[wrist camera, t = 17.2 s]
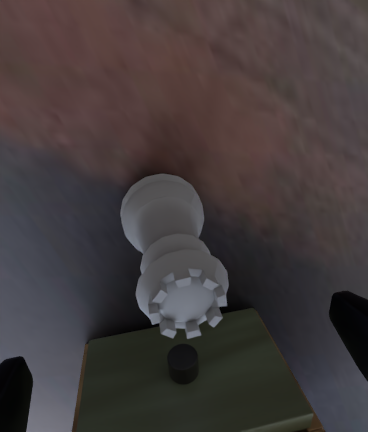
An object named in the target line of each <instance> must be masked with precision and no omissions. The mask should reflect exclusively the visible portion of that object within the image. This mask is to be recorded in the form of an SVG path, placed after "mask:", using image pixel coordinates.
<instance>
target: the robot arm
mask: <svg viewBox="0 0 368 432" xmlns="http://www.w3.org/2000/svg"><path fill="white" fill-rule="evenodd" d="M329 317H330V320H331V322H332V324H333V325H334V327H335V329H336V330H337V332H338V334H339V336H340V337H341V339H342V341H343V343H344V344H345V346H346V348H347V350H348V351H349V353H350V355H351V356H352V358H353V360H354V362H355V363H356V365H357V366H358V368H359V370H360V371H361V372H362V374H363V375H364V377H365V378H366V380H367V381H368V300H367V299H365V298H363V297H360V296H358V295H356V294H354V293H352V292H349V291H341V292H336V293H334V294H333V295H332V299H331V305H330V310H329ZM32 387H33V378H32V374H31V372H30V370H29V368H28V366H27V364H26V362H25V360H24V358H23V357H21V356H19V357H14V358H9V359H6V360H4V361H3V362H2V363H1V364H0V432H26V428H27V422H28V415H29V408H30V401H31V394H32Z"/></svg>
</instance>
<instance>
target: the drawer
mask: <svg viewBox="0 0 368 432" xmlns="http://www.w3.org/2000/svg"><path fill="white" fill-rule="evenodd" d="M222 317H223V318H222V319H221V320H220V321H219V323H218V324H217V325H216V326H215V327H212V326H211V325H209V324H208V321H207V320H206V321H204V322H202V323H201V324H199V329H200V332H201V335H200V336H197V337H193V338H189V339H187V336H186V332H185V329H184V328H176V334H175V336H174V338H170V337H168V336H165V335H162V334H161V332H160V326H159V327H154V328H149V329H144V330H139V331H134V332H129V333H124V334H119V335H114V336H109V337H104V338H99V339H94V340H89V343H88V350H87V358H86V365H85V372H84V380H83V387H82V394H81V401H80V409H79V416H78V423H77V431H76V432H295V431H299V430H303V429H307V428H310V427H311V422H312V417H313V412H312V410H311V408H310V406H309V404H308V403H307V401H306V399H305V397H304V396H303V394H302V392H301V390H300V389H299V387H298V385H297V383H296V382H295V380H294V378H293V376H292V374H291V373H290V371H289V369H288V367H287V366H286V364H285V362H284V360H283V359H282V357H281V355H280V353H279V352H278V350H277V348H276V346H275V345H274V343H273V341H272V339H271V337H270V336H269V334H268V332H267V330H266V329H265V327H264V325H263V323H262V322H261V320H260V318H259V316H258V315H257V313H256V311H255V309H254V308H249V309H244V310H239V311H234V312H229V313H224V314H222Z"/></svg>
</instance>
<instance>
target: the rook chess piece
mask: <svg viewBox="0 0 368 432" xmlns="http://www.w3.org/2000/svg"><path fill="white" fill-rule="evenodd" d="M120 216H121V219H122V221H121V222H122V226H123V229H124V233H125V236H126V237H127V239H128V240H129V241H130V242H131V244H132V245H133V246H134V247H135V248H136V249H137V250H139V251H141V252H142V253H143V257H142V262H141V266H140V269H141V273H142V275H141V276H140V278H139V280H138V285H137V289H136V298H137V301H138V305H139V308H140V309H141V310H142V311H143V312H144V313H145V314H146V315H147V316H148V317H149V318H150V319H151V323H152V325H154V324H156V323H159V325H160V332H161V334H162V335H165V336H168V337H170V338H174V336H175V334H176V328H184V329H185V332H186V336H187V339H189V338H193V337H197V336H200V335H201V332H200V329H199V324H201V323H202V322H204V321H206V320H207V321H208V324H209V325H211V326H212V327H215V326H216V325H217V324H218V323H219V321H220V320H221V319H222V318H223V317H222V314H221V312H220V309H219V307H221V306H227V300H226V292H227V290H228V287H229V283H228V274H227V271H226V269H225V268H224V266H223V265H222V263H221V262H220V260H219V259H217V258H215V257H214V256H212V255H210V251H209V249H208V248H207V247H206V245H205V244H204V242H203V241H201V240H199V236H200V234H201V230H202V227H203V223H204V213H203V206H202V203H201V201H200V197H199V196H198V194H197V192H196V191H195V189H194V188H193V186H192V185H191V184H190V183H188V182H187V181H185V180H183V179H182V178H180V177H179V176H174V175H168V174H163V173H162V174H157V175H152V176H147V177H145V178H143V179H142V180H140V181H139V182H137V183H136V184H134V185H133V186H131V188H130V189H129V191H128V192H127V194H126V195H125V197H124V198H123V200H122V207H121V213H120Z"/></svg>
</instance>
